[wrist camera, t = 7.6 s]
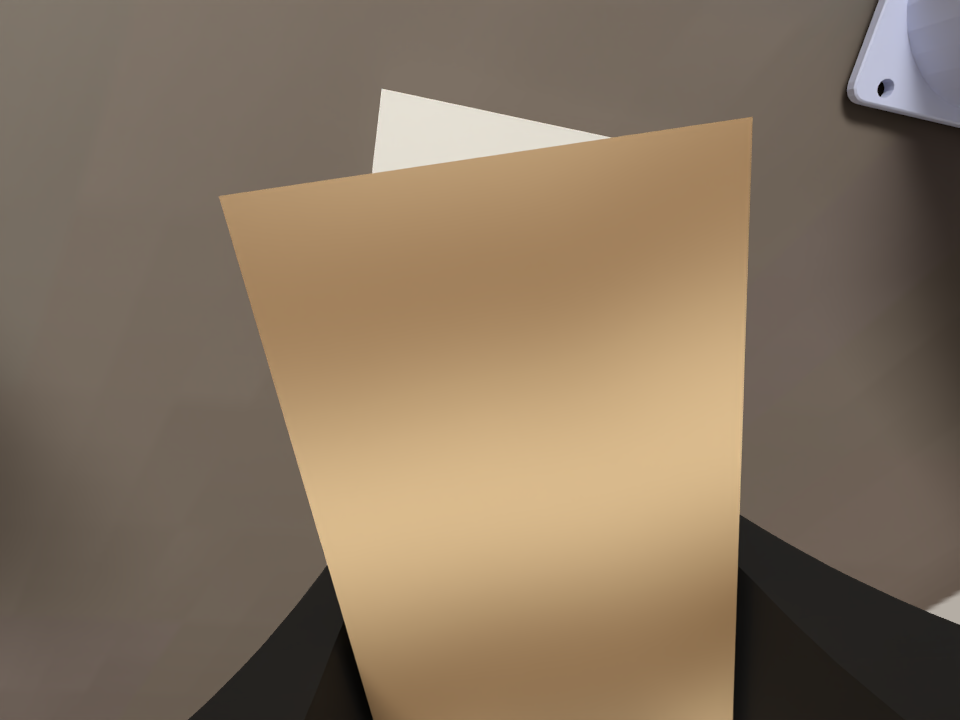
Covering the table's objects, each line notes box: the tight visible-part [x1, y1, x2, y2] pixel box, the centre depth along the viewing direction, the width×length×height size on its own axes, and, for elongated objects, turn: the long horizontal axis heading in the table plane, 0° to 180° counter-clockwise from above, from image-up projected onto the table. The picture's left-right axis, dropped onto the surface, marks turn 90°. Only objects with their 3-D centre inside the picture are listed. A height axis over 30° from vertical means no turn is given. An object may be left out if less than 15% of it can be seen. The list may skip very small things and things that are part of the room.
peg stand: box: [372, 89, 610, 173], centre depth 18 cm, size 10×17×3 cm, turn 169°
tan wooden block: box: [219, 117, 753, 720], centre depth 10 cm, size 14×5×5 cm, turn 8°
